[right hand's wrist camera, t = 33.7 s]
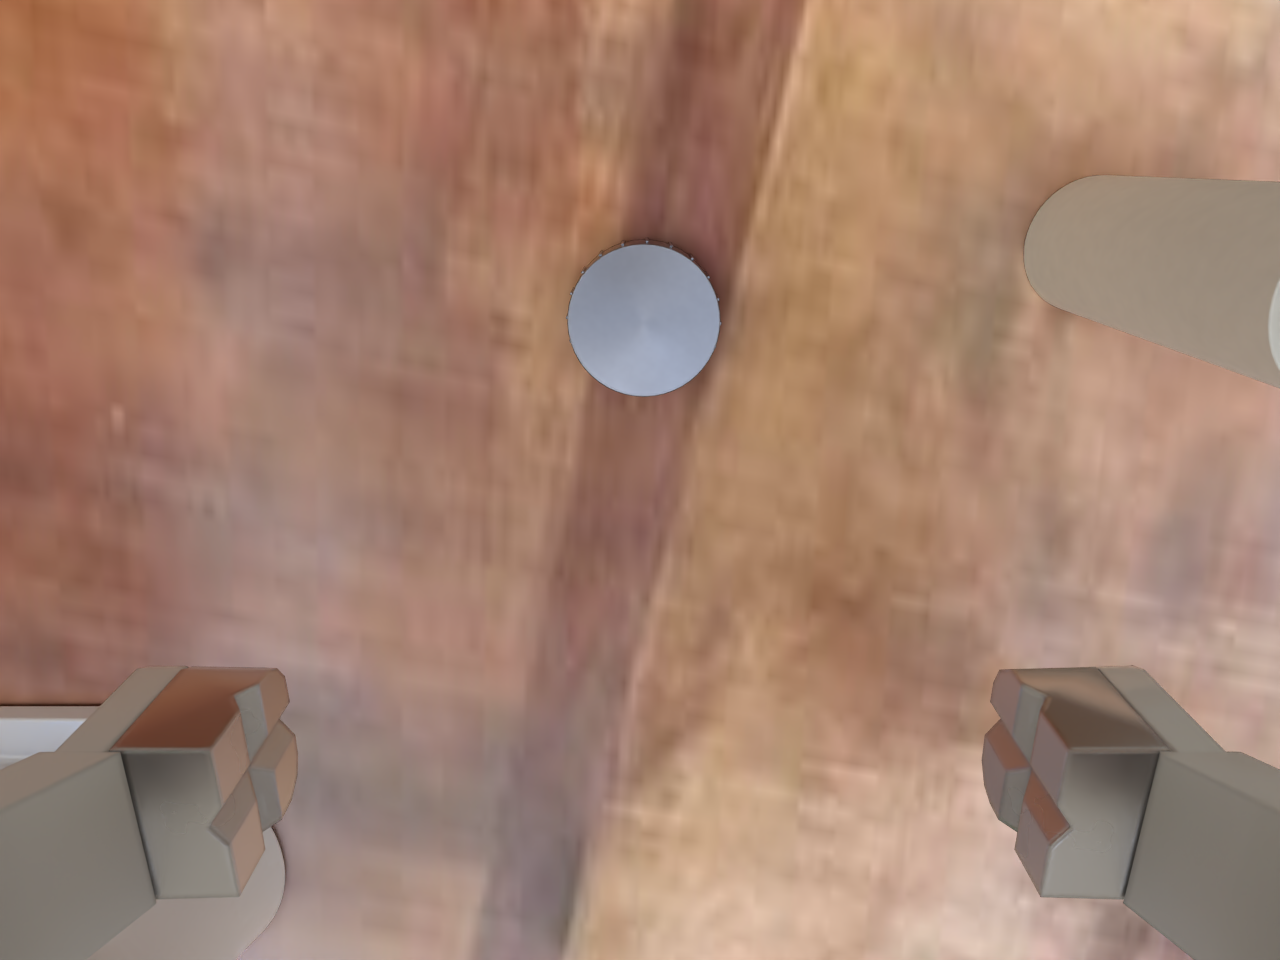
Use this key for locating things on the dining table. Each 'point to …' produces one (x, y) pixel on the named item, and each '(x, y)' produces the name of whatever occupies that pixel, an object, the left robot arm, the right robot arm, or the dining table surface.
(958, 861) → the dining table surface
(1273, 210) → the jar
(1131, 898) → the right robot arm
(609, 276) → the lid
